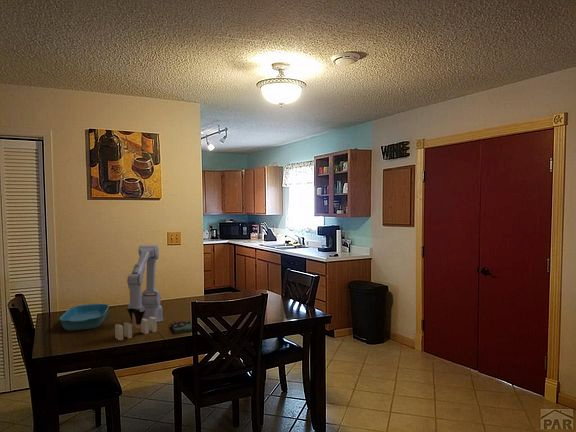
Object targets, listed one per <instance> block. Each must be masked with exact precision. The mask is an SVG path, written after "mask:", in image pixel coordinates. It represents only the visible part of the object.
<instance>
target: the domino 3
mask: <svg viewBox="0 0 576 432" xmlns="http://www.w3.org/2000/svg"><path fill="white" fill-rule="evenodd" d="M131 324H132V328H135V329H141V324H138V325H137V324H136V319H135V315H134V313H132V321H131Z"/></svg>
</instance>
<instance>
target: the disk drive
mask: <svg viewBox="0 0 576 432" xmlns="http://www.w3.org/2000/svg"><path fill="white" fill-rule="evenodd" d="M192 325H193V324H192V322H191V321H190V320H184V321H178V322H173V321H172V322H170V328H171V330H172V333H173V334H174V335H178V334H186V333H193V332H192Z"/></svg>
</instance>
